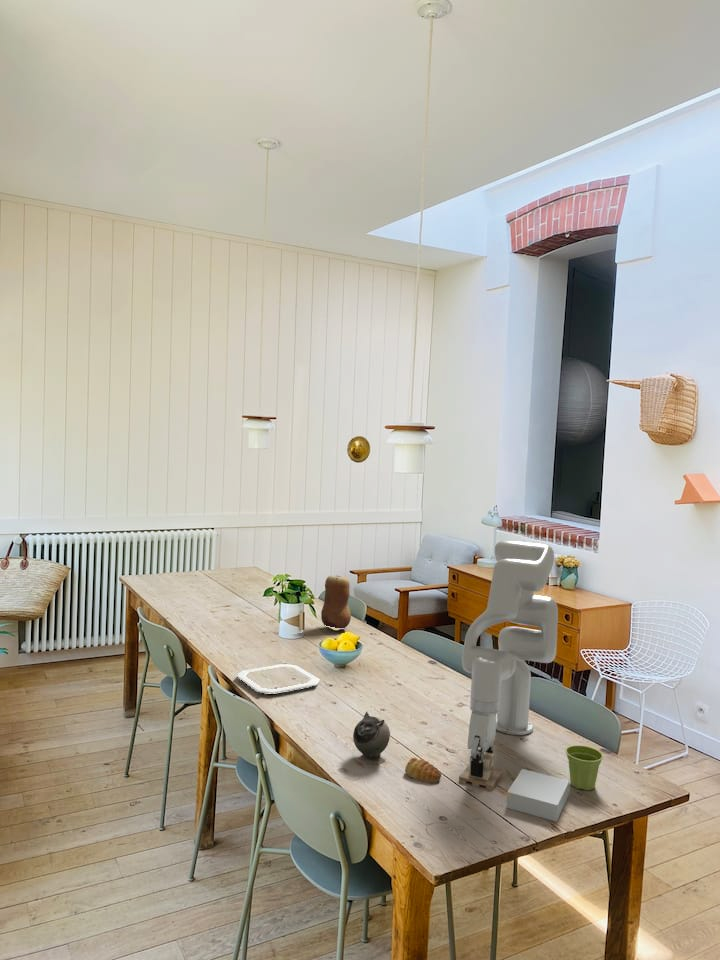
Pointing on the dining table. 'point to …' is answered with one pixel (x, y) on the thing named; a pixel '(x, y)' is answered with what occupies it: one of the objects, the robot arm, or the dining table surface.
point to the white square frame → (312, 682)
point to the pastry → (422, 770)
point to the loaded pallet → (480, 781)
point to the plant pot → (583, 766)
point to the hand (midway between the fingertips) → (481, 769)
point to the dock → (538, 794)
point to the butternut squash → (336, 602)
